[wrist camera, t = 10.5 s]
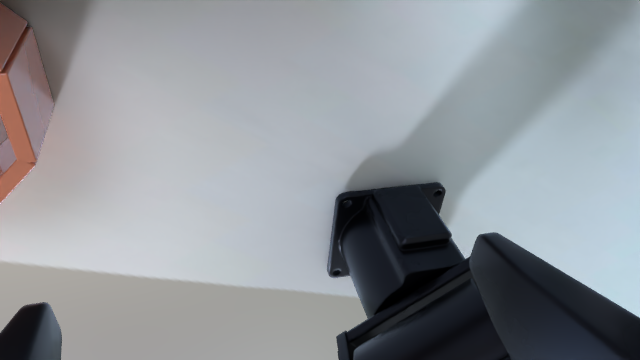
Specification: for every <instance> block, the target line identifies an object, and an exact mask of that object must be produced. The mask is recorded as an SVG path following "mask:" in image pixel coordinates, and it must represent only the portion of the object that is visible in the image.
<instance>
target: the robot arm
mask: <svg viewBox="0 0 640 360" xmlns="http://www.w3.org/2000/svg"><path fill="white" fill-rule="evenodd" d="M437 190H438V191H437ZM435 191H436V192H435ZM444 195H445V188H444V187H443V185H442V184H441V183H438V182H436V183H426V184H417V185H408V186H399V187H390V188H381V189H371V190H362V191H353V192H345V193H342V194H340V195H339V196H338V197H337V198H336V202H335V210H334V218H333V226H332V234H331V242H330V250H329V258H328V266H327V271H328V274H329V276H330V277H332V278H338V277H344V276H351V278H352V281H353V283H354V286H355V288H356V291H357V293H358V295H359V298H360V300H361V303H362V305H363V308H364V310H365V313H366V315H367V318H368V319H367V320H365V321H364V322H362V323H361V324H359V325H357V326H356V327H354V328H352V329H351V330H349V331H348V332H347V331H345V332H343V333H341V334H339V335H338V336H337V337H336V338H337V345H338V358H339V360H640V318H639V317H637V316H636V315H634V314H632V313H631V312H629V311H627V310H626V309H624V308H622V307H621V306H619V305H617V304H616V303H614V302H612V301H611V300H609V299H607V298H606V297H604V296H602V295H601V294H599V293H597V292H596V291H594V290H592V289H591V288H589V287H587V286H585V285H584V284H582V283H580V282H579V281H577V280H575V279H574V278H572V277H570V276H569V275H567V274H565V273H564V272H562V271H560V270H559V269H557V268H555V267H554V266H552V265H550V264H549V263H547V262H545V261H544V260H542V259H540V258H539V257H537V256H535V255H534V254H532V253H530V252H529V251H527V250H525V249H524V248H522V247H520V246H519V245H517V244H515V243H513V242H512V241H510V240H508V239H507V238H505V237H503V236H502V235H500V234H498V233H494V232H493V233H486V234H481V235H479V236H478V237H477V239H476V241H475V244H474V247H473V250H472V253H471V256H470V257H468V258H467V259H465V258H464V256H463V255H462V253H461V252H460V250H459V249H458V247H457V246H456V244H455V243H454V241H453V240H452V238H451V236H452V235H451V232H450V231H449V229H448V228H447V227H446V225H445V224H444V222H443V221H442V219H441V218H440V216H439V212H440V209H441V205H442V202H443V199H444ZM347 200H348V201H347ZM344 201H347V202H345V203H343V202H344ZM61 346H62V335H61V329H60V327H59V324H58V322H57V320H56V317H55V315H54V313H53V311H52V308H51V306H50V305H49V304H48V303H46V302H42V303H36V304H29V305H25V306H23V307H22V308H21V309H20V310H19V311H18V312H17V313H16V314H15V316H14V317H13V318H12V319H11V321H10V322H9V323H8V324H7V325H6V327H5V328H4V329H3V330H2V331H1V333H0V360H61Z"/></svg>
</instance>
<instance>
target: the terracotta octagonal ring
mask: <svg viewBox="0 0 640 360" xmlns="http://www.w3.org/2000/svg"><path fill="white" fill-rule="evenodd" d="M27 24H28V22H27V21H26V20H24V19H23V18H22V17H20V16H19V15H17V14H16V13H14V12H13V11H12V10H10V9H9V8H7V7H6V6H4V5H3V4H1V3H0V115H1V118H2V121H3V123H4V126H5V129H6V132H7V134H8V138H7V139H6V140H5V141H4V142H3V143H2V145H1V146H0V204H1V203H2V202H3V201H4V200H5V199H6V198H7V196H8V195H9V194H10V193H11V192H12V191H13V190H14V189H15V188H16V187H17V186H18V185H19V183H20V182H21V181H22V180H23V179H24V178H25V177H26V176H27V175H28V174H29V173H30V172H31V171H32V169H33V168H34V167H35V166H36V163H37V160H38V157H39V153H40V150H41V147H42V144H43V141H44V138H45V134H46V131H47V128H48V125H49V122H50V119H51V116H52V112H53V108H54V102H53V99H52V95H51V92H50V88H49V85H48V81H47V78H46V74H45V71H44V67H43V63H42V60H41V56H40V53H39V49H38V46H37V42H36V39H35V35H34V32H33V28H32V27H30V26H29V27H26V26H27Z"/></svg>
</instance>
